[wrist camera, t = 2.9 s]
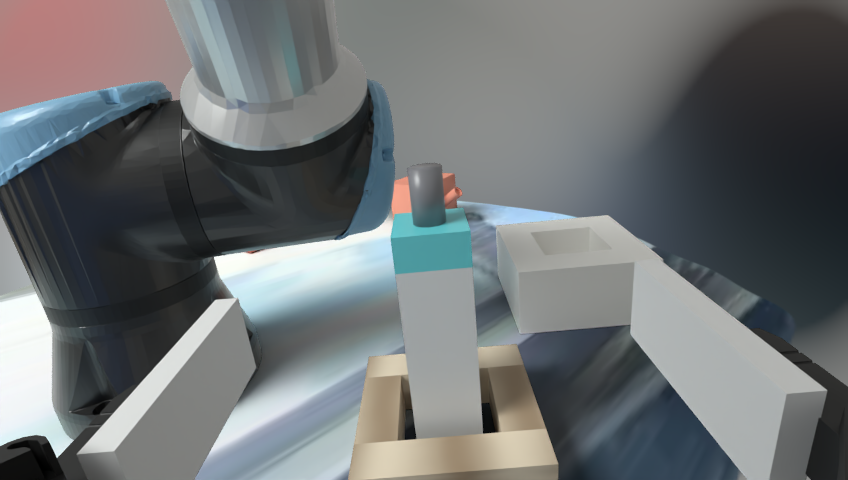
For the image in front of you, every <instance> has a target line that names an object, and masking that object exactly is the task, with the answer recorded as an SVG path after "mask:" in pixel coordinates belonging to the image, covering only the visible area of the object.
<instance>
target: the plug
mask: <svg viewBox="0 0 848 480" xmlns="http://www.w3.org/2000/svg"><path fill="white" fill-rule="evenodd" d="M407 173H408V182H409V191H410V200H411V210H412V212H411V213H400V214H395V215H394V221H393V227H392V233H391V245H392V253H393V260H394V268H395V276H396V284H397V291H398V299H399V307H400V315H401V322H402V330H403V338H404V346H405V354H406V361H407V369H408V377H409V385H410V392H411V400H412V408H413V416H414V423H415V431H416V439H425V438H437V437H449V436H462V435H474V434H483V424H482V408H481V392H480V376H479V360H478V344H477V329H476V313H475V297H474V281H473V265H472V249H471V233H470V228H469V225H468V222H467V218H466V215H465V212H464V209H463V208H454V209H445V200H444V188H443V175H442V165H441V164H437V163H425V164H417V165H413V166H410V167H408V168H407Z"/></svg>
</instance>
